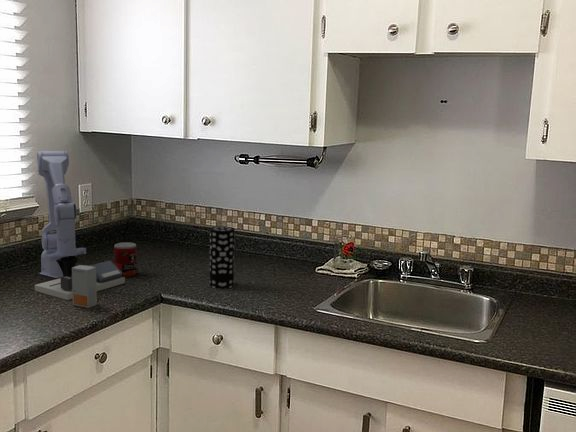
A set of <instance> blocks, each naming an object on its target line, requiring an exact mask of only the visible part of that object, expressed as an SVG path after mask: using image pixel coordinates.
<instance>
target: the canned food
mask: <svg viewBox="0 0 576 432" xmlns="http://www.w3.org/2000/svg"><path fill="white" fill-rule="evenodd" d="M113 251H114V253H113V255H114V265H115V266H116V267H117V268H118V269H119V270H120V271H121V272H122V275H121V276H123V277H125V278H130V277H134V276H135V275H137V272H138V271H137V270H138V267H137V265H138V264H137V263H138V262H137V256H138V254H137V244H136V243H134V242H128V241H127V242H118V243H115V244H114V249H113Z"/></svg>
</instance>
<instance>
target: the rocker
mask: <svg viewBox="0 0 576 432" xmlns="http://www.w3.org/2000/svg"><path fill="white" fill-rule="evenodd" d="M89 266H92V267H96V277H97V278H98V279H99V280H100V281H101V282H102V281H106V280H109V279H113V278H116V277H120V276H121V275H122V272H121V271H120V270H119V269H118V268H117V267H116V266H115V263H113V262H112V261H111V260H106V261H102V262H99V263H94V264H90V265H89Z"/></svg>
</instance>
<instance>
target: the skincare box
mask: <svg viewBox="0 0 576 432" xmlns="http://www.w3.org/2000/svg"><path fill="white" fill-rule="evenodd" d="M97 293H98V291H97V288H96V267H92V266H90V265H84V264H83V265H82V264H78V265H75V266H74V267H73V268H72V297H73V299H72V306H77V307H82V308H87V309H90V308H92V307H94V306H96V305H97V304H98V301H97V299H98V298H97V297H98V295H97Z"/></svg>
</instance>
